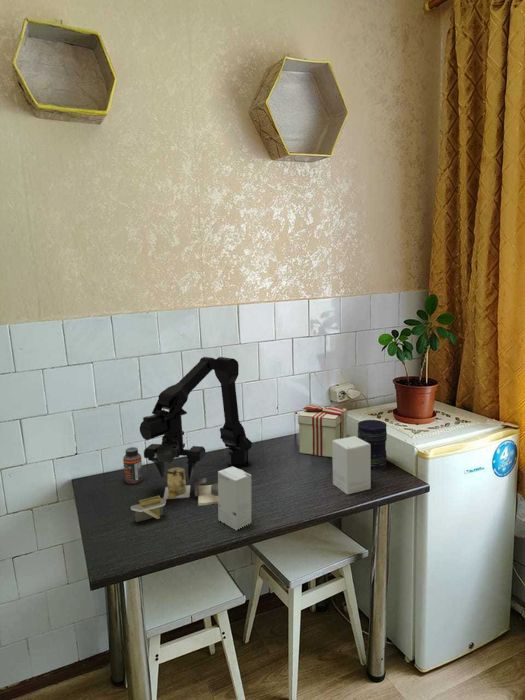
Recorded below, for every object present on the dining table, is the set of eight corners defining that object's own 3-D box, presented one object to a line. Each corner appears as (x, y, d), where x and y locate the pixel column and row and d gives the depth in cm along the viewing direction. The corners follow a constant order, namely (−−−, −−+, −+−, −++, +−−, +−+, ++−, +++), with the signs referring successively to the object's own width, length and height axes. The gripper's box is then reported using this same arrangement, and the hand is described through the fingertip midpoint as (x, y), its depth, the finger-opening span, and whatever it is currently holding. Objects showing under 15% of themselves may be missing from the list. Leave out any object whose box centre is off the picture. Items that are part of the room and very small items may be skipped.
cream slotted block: (238, 484, 163) (238, 469, 162) (241, 502, 151) (240, 485, 150) (195, 488, 161) (194, 472, 160) (194, 506, 149) (193, 489, 148)
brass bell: (175, 484, 164) (173, 463, 163) (191, 485, 163) (189, 464, 162) (162, 498, 155) (160, 476, 153) (179, 499, 153) (177, 477, 152)
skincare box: (218, 521, 140) (215, 471, 138) (234, 513, 144) (232, 464, 142) (237, 531, 134) (234, 480, 132) (253, 523, 138) (251, 473, 136)
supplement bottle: (121, 482, 168) (118, 450, 166) (133, 475, 173) (130, 444, 171) (134, 485, 165) (132, 453, 163) (146, 478, 170) (144, 447, 168)
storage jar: (364, 457, 181) (364, 418, 179) (390, 463, 176) (391, 422, 173) (353, 467, 174) (352, 426, 171) (379, 473, 168) (380, 430, 165)
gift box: (349, 442, 198) (349, 400, 195) (339, 459, 181) (339, 413, 178) (308, 438, 204) (307, 397, 201) (294, 454, 187) (293, 410, 184)
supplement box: (371, 489, 156) (371, 444, 154) (347, 495, 153) (346, 449, 150) (355, 478, 164) (355, 435, 162) (332, 483, 161) (331, 439, 158)
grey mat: (190, 486, 163) (190, 485, 163) (189, 497, 155) (189, 496, 155) (165, 488, 162) (165, 487, 162) (163, 499, 154) (163, 498, 154)
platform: (187, 521, 141) (186, 500, 140) (123, 539, 133) (121, 516, 132) (174, 504, 152) (173, 484, 151) (114, 520, 144) (112, 499, 142)
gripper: (133, 438, 150) (137, 486, 152) (191, 441, 145) (194, 491, 148) (150, 426, 160) (153, 472, 163) (204, 428, 156) (207, 475, 159)
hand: (176, 477), depth 158 cm, fingers open, 9 cm apart
